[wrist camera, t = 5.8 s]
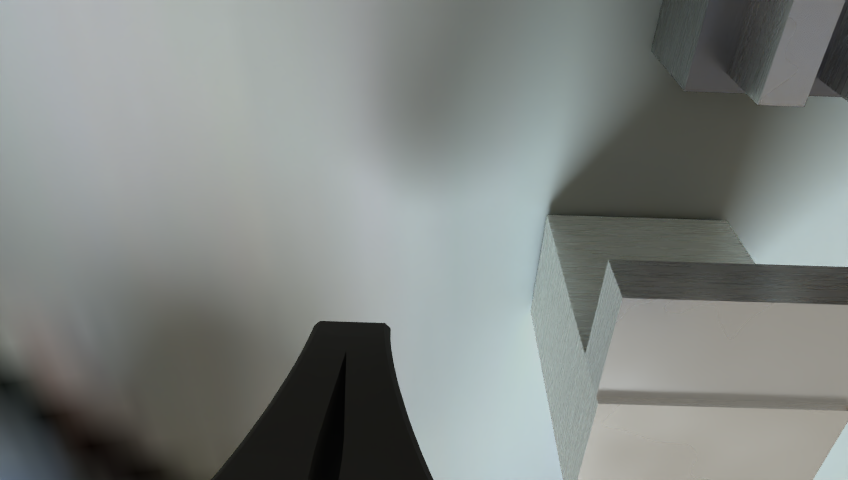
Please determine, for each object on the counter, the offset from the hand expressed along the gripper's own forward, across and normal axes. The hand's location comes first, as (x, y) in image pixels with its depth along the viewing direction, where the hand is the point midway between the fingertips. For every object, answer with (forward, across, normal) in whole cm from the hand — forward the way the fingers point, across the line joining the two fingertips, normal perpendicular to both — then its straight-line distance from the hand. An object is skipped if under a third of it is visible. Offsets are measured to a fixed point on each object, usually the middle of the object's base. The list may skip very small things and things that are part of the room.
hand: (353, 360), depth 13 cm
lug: (+3, -6, 0) cm, 7 cm away
